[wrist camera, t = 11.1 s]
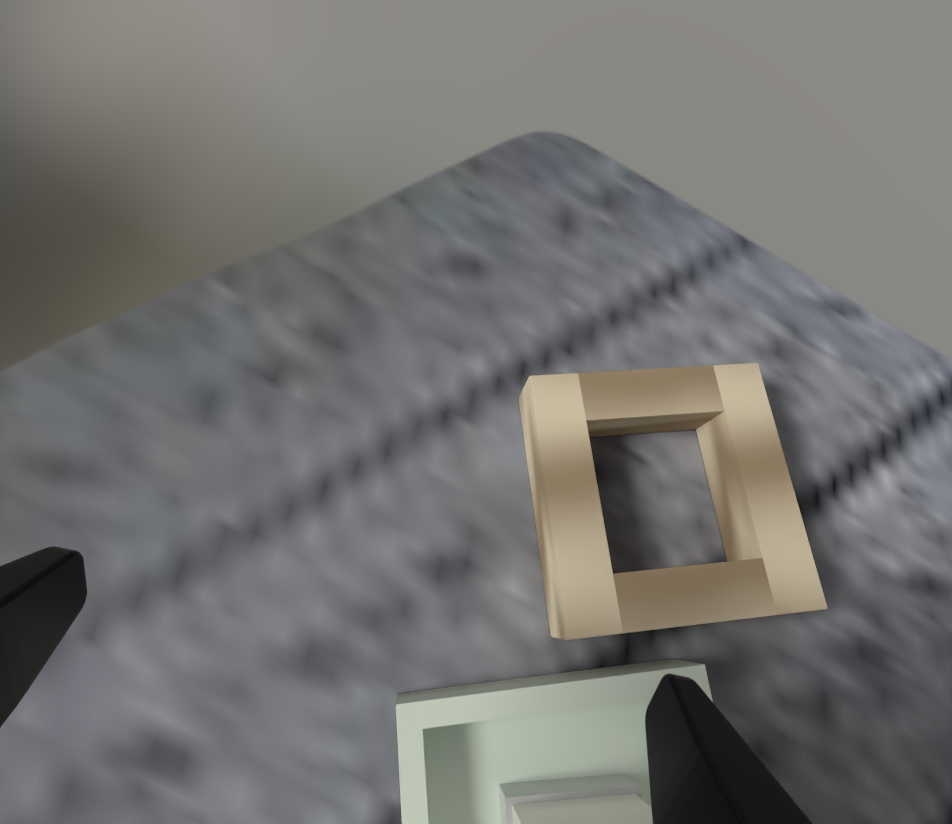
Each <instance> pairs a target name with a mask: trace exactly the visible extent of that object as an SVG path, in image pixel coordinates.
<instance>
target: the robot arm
mask: <svg viewBox="0 0 952 824" xmlns="http://www.w3.org/2000/svg"><path fill="white" fill-rule="evenodd" d="M86 596H87V586H86V577H85V568H84V560H83V556H82V555H81V554H80V552H78V551H75V550H70V549H65V548H60V547H48V548H45V549H42V550H39V551H37V552H34V553H32V554H29V555H27V556H24V557H22V558H19V559H17V560H15V561H12V562H10V563H7V564H5V565H2V566H0V727H1V725H2V724H3V723H4V722H5V720H6V719H7V718H8V717H9V715H10V714H11V713H12V711H13V710H14V709H15V707H16V706H17V705H18V703H19V702H20V701H21V699H22V698H23V696H24V695H25V693H26V692H27V691H28V689H29V688H30V686H31V685H32V683H33V682H34V680H35V679H36V677H37V676H38V674H39V673H40V671H41V670H42V668H43V667H44V665H45V664H46V662H47V661H48V659H49V658H50V656H51V654H52V653H53V651H54V650H55V648H56V647H57V645H58V644H59V642H60V641H61V639H62V638H63V636H64V635H65V633H66V632H67V630H68V629H69V627H70V626H71V624H72V623H73V621H74V620H75V618H76V617H77V615H78V614H79V612H80V611H81V609H82V607H83V605H84V603H85V600H86ZM645 730H646V743H647V757H648V770H649V783H650V796H651V809H652V820H653V824H812V822H811V821H810V820H809V819H808V817H807V816H806V815H805V814H804V813H803V811H802V810H801V809H800V808H799V807H798V805H797V804H796V803H795V802H794V800H793V799H792V798H791V797H790V796H789V794H788V793H787V792H786V791H785V790H784V788H783V787H782V786H781V785H780V783H779V782H778V781H777V780H776V779H775V777H774V776H773V775H772V774H771V772H770V771H769V770H768V769H767V768H766V766H765V765H764V764H763V763H762V762H761V760H760V759H759V758H758V757H757V755H756V754H755V753H754V752H753V751H752V749H751V748H750V747H749V746H748V744H747V743H746V742H745V741H744V740H743V738H742V737H741V736H740V735H739V734H738V732H737V731H736V730H735V729H734V727H733V726H732V725H731V724H730V723H729V721H728V720H727V719H726V718H725V717H724V715H723V714H722V713H721V712H720V710H719V709H718V708H717V707H716V706H715V704H714V703H713V702H712V701H711V699H710V698H709V697H708V696H707V695H706V693H705V692H704V691H703V690H702V689H701V687H700V686H699V685H698V684H697V683H696V682H695V681H694V680H693V679H691V678H689V677H685V676H680V675H675V674H671V673H669V674H665V675H664V676H663V677H662V679H661V681H660V683H659V685H658V687H657V689H656V690H655V692H654V694H653V696H652V698H651V700H650V702H649V704H648V707H647V710H646V715H645Z"/></svg>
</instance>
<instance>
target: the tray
mask: <svg viewBox="0 0 952 824" xmlns="http://www.w3.org/2000/svg"><path fill="white" fill-rule="evenodd" d="M669 673H671V674H675V675H680V676H685V677H689V678H691V679H693V680H694V681H695V682H696V683H697V684H698V685H699V686H700V687H701V689H702V690H703V691H704V692H705V693H706V695H707V696H708V697H709V698H710V699H711V701H712V702H713V700H712V696H711V691H710V686H709V682H708V677H707V672H706V667H705V664H699V663H694V662H689V661H684V660H678V659H667V660H659V661H652V662H644V663H636V664H628V665H620V666H612V667H604V668H596V669H588V670H581V671H573V672H565V673H557V674H549V675H541V676H533V677H525V678H518V679H510V680H502V681H494V682H486V683H478V684H470V685H462V686H455V687H447V688H439V689H431V690H423V691H415V692H407V693H399V694H398V697H397V701H396V718H397V737H398V756H399V776H400V795H401V815H402V824H501V817H500V797H499V784H504V783H516V782H528V781H539V780H551V779H563V778H575V777H587V776H599V775H610V774H622V773H624V774H625V775H626V776H628V777H629V778H630V779H631V780H633V781H634V782H635V783H637V784H638V785H639V786H640V792H641V799H642V800H643V801H644V802H645V803H646V804H647V805H649V806H650V807H651V796H650V783H649V770H648V757H647V743H646V730H645V715H646V710H647V707H648V704H649V702H650V700H651V698H652V696H653V694H654V692H655V690H656V689H657V687H658V685H659V683H660V681H661V679H662V677H663V676H664V675H665V674H669Z"/></svg>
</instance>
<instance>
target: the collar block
mask: <svg viewBox="0 0 952 824" xmlns="http://www.w3.org/2000/svg"><path fill="white" fill-rule="evenodd" d="M519 404H520V412H521V419H522V426H523V434H524V441H525V449H526V456H527V463H528V471H529V478H530V486H531V493H532V500H533V508H534V515H535V523H536V530H537V537H538V545H539V552H540V559H541V567H542V574H543V582H544V589H545V596H546V604H547V611H548V619H549V626H550V633H551V637H555V638H560V639H565V640H571V639H580V638H588V637H596V636H605V635H613V634H622V633H630V632H638V631H647V630H655V629H663V628H672V627H680V626H689V625H697V624H705V623H714V622H722V621H730V620H739V619H747V618H756V617H764V616H772V615H781V614H789V613H797V612H806V611H814V610H823V609H828V608H827V604H826V601H825V597H824V594H823V590H822V587H821V583H820V580H819V576H818V573H817V569H816V566H815V562H814V559H813V555H812V552H811V548H810V545H809V541H808V537H807V534H806V530H805V527H804V523H803V520H802V516H801V513H800V509H799V506H798V502H797V499H796V495H795V492H794V488H793V485H792V481H791V478H790V474H789V471H788V467H787V464H786V460H785V457H784V453H783V450H782V446H781V443H780V439H779V436H778V432H777V429H776V425H775V422H774V418H773V415H772V411H771V408H770V404H769V401H768V397H767V394H766V390H765V387H764V383H763V380H762V376H761V373H760V369H759V366H758V363H748V364H731V365H714V366H696V367H679V368H661V369H644V370H627V371H609V372H592V373H574V374H557V375H539V376H529V378H528V380H527V382H526V384H525V386H524V388H523V390H522V392H521V394H520V397H519ZM695 429H696V432H697V436H698V440H699V444H700V449H701V453H702V457H703V461H704V465H705V470H706V474H707V478H708V482H709V486H710V491H711V495H712V499H713V503H714V507H715V512H716V516H717V520H718V524H719V528H720V533H721V537H722V541H723V545H724V549H725V554H726V558H727V562H720V563H710V564H701V565H691V566H682V567H672V568H663V569H653V570H644V571H634V572H625V573H615V574H613V572H612V566H611V560H610V554H609V549H608V543H607V537H606V531H605V526H604V520H603V514H602V508H601V503H600V497H599V491H598V485H597V480H596V474H595V468H594V462H593V457H592V451H591V445H590V439H589V437H599V436H612V435H626V434H640V433H654V432H667V431H681V430H695Z"/></svg>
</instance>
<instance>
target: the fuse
mask: <svg viewBox="0 0 952 824" xmlns="http://www.w3.org/2000/svg"><path fill="white" fill-rule="evenodd" d="M499 797H500V817H501V824H653V820H652V809H651V807H650V806H649V805H647V804H646V803H645V802H644V801H643V800H642V799H641V792H640V786H639V785H638V784H637V783H635V782H634V781H633V780H631V779H630V778H629V777H628V776H626V775H625V774H624V773H622V774H610V775H599V776H587V777H575V778H563V779H551V780H539V781H528V782H516V783H504V784H499Z"/></svg>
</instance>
